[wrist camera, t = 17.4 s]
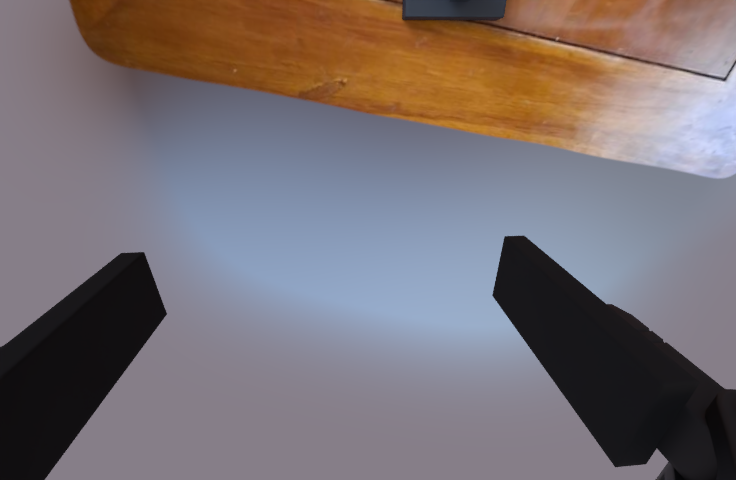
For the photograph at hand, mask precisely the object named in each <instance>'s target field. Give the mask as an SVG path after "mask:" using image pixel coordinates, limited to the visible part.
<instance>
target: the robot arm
mask: <svg viewBox="0 0 736 480" xmlns="http://www.w3.org/2000/svg"><path fill="white" fill-rule="evenodd" d="M493 297H494V298H495V300H496V301H497V303H498V304H499V305H500V307H501V308H502V309H503V311H504V312H505V314H506V315H507V316H508V318H509V319H510V321H511V322H512V324H513V325H514V326H515V328H516V329H517V330H518V332H519V333H520V335H521V336H522V337H523V339H524V340H525V342H526V343H527V344H528V346H529V347H530V349H531V350H532V351H533V353H534V354H535V356H536V357H537V358H538V360H539V361H540V363H541V364H542V365H543V367H544V368H545V370H546V371H547V372H548V374H549V375H550V377H551V378H552V379H553V381H554V382H555V383H556V385H557V386H558V388H559V389H560V391H561V392H562V393H563V395H564V396H565V398H566V399H567V400H568V402H569V403H570V404H571V406H572V407H573V409H574V410H575V412H576V413H577V414H578V415H579V417H580V419H581V420H582V421H583V423H584V424H585V425H586V427H587V428H588V430H589V431H590V432H591V434H592V435H593V436H594V438H595V439H596V441H597V442H598V444H599V445H600V446H601V448H602V449H603V451H604V452H605V453H606V455H607V456H608V458H609V459H610V460H611V462H612V463H613V465H614V466H615V467H621V466H631V465H641V464H646V463H647V462H648V460H649V459H650V457H651V456H652V454H653V453H654V451H655V450H656V448H657V449H658V450H659V451H660V452H661V453H662V454H663V455H664V457H665V458H666V459H667V460H668V461H669V462H668V464H667V465H666V466H665V468H664V469H663V470H662V472H661V473H660V475H659V476H658V477H657V479H656V480H736V390H733V389H724V388H723V387H722V386H720V385H719V384H718V383H717V382H715V381H714V380H713V379H712V378H710V377H709V376H708V375H707V374H705V373H704V372H703V371H701V370H700V369H699V368H698V367H697V366H695V365H694V364H693V363H692V362H690V361H689V360H688V359H687V358H685V357H684V356H683V355H682V354H680V353H679V352H678V351H677V350H675V349H674V348H673V347H672V346H670V345H669V344H668V343H664V342H663V339H661V338H660V337H659V336H658V335H656V334H655V333H654V332H653V331H649V328H648V327H646V326H645V325H644V324H643V323H641V322H640V321H639V320H638V319H636V318H635V317H634V316H633V315H631V314H629V313H627V312H625V311H623V310H621V309H620V308H618V307H616V306H614V305H612V304H605V303H604V302H603V301H602V300H600V299H599V298H598V297H597V296H596V295H595V294H593V293H592V292H591V291H590V290H588V289H587V288H586V287H585V286H584V285H583V284H581V283H580V282H579V281H578V280H576V279H575V278H574V277H573V276H572V275H571V274H569V273H568V272H567V271H566V270H565V269H563V268H562V267H561V266H560V265H559V264H557V263H556V262H555V261H554V260H553V259H551V258H550V257H549V256H548V255H547V254H545V253H544V252H543V251H542V250H541V249H539V248H538V247H537V246H536V245H535V244H533V243H532V242H531V241H530V240H528V239H527V238H526V237H525V236H507V237H506V236H505V238H504V243H503V247H502V252H501V257H500V262H499V267H498V272H497V277H496V281H495V286H494V291H493ZM166 315H167V313H166V310H165V308H164V305H163V303H162V300H161V297H160V294H159V291H158V289H157V286H156V283H155V281H154V278H153V275H152V272H151V270H150V267H149V264H148V262H147V259H146V256H145V254H144V252H138V253H121V254H120V255H118V256H117V257H116V258H114V259H113V260H112V261H111V262H110V263H108V264H107V265H106V266H104V267H103V268H102V269H101V270H99V271H98V272H97V273H96V274H94V275H93V276H92V277H90V278H89V279H88V280H87V281H85V282H84V283H83V284H82V285H80V286H79V287H78V288H77V289H75V290H74V291H73V292H71V293H70V294H69V295H68V296H66V297H65V298H64V299H63V300H61V301H60V302H59V303H57V304H56V305H55V306H54V307H52V308H51V309H50V310H49V311H47V312H46V313H45V314H44V315H42V316H41V317H40V318H39V319H37V320H36V321H35V322H33V323H32V324H31V325H30V326H28V327H27V328H26V329H25V330H24V331H22V332H21V333H20V334H18V335H17V336H16V337H14V338H13V339H12V340H11V341H9V342H8V343H7V344H5V345H4V346H2V347H0V480H45V478H46V477H47V476H48V474H49V473H50V472H51V470H52V469H53V467H54V466H55V465H56V463H57V462H58V461H59V459H60V458H61V457H62V455H63V453H65V451H66V450H67V449H68V447H69V446H70V444H71V443H72V442H73V440H74V439H75V438H76V436H77V435H78V434H79V432H80V431H81V429H82V428H83V427H84V425H85V424H86V423H87V421H88V420H89V419H90V417H91V416H92V415H93V413H94V412H95V411H96V409H97V408H98V407H99V405H100V404H101V403H102V401H103V400H104V398H105V397H106V395H107V394H108V393H109V392H110V390H111V389H112V388H113V386H114V385H115V383H116V382H117V381H118V380H119V378H120V377H121V375H122V374H123V373H124V371H125V370H126V369H127V367H128V366H129V365H130V363H131V362H132V361H133V359H134V358H135V356H136V355H137V354H138V352H139V351H140V350H141V348H142V347H143V345H144V344H145V343H146V342H147V340H148V339H149V338H150V336H151V335H152V333H153V332H154V331H155V329H156V328H157V327H158V325H159V324H160V323H161V321H162V320H163V319H164V317H165V316H166Z"/></svg>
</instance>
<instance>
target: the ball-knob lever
mask: <svg viewBox="0 0 736 480" xmlns="http://www.w3.org/2000/svg"><path fill="white" fill-rule="evenodd" d="M468 1H470V0H450V2H468Z"/></svg>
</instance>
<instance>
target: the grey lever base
mask: <svg viewBox="0 0 736 480" xmlns="http://www.w3.org/2000/svg"><path fill="white" fill-rule="evenodd" d="M505 6H506V0H470V1H468V2H450V0H403V15H402V19H403V20H498V19H501V18H503V17H504V13H505Z"/></svg>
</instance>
